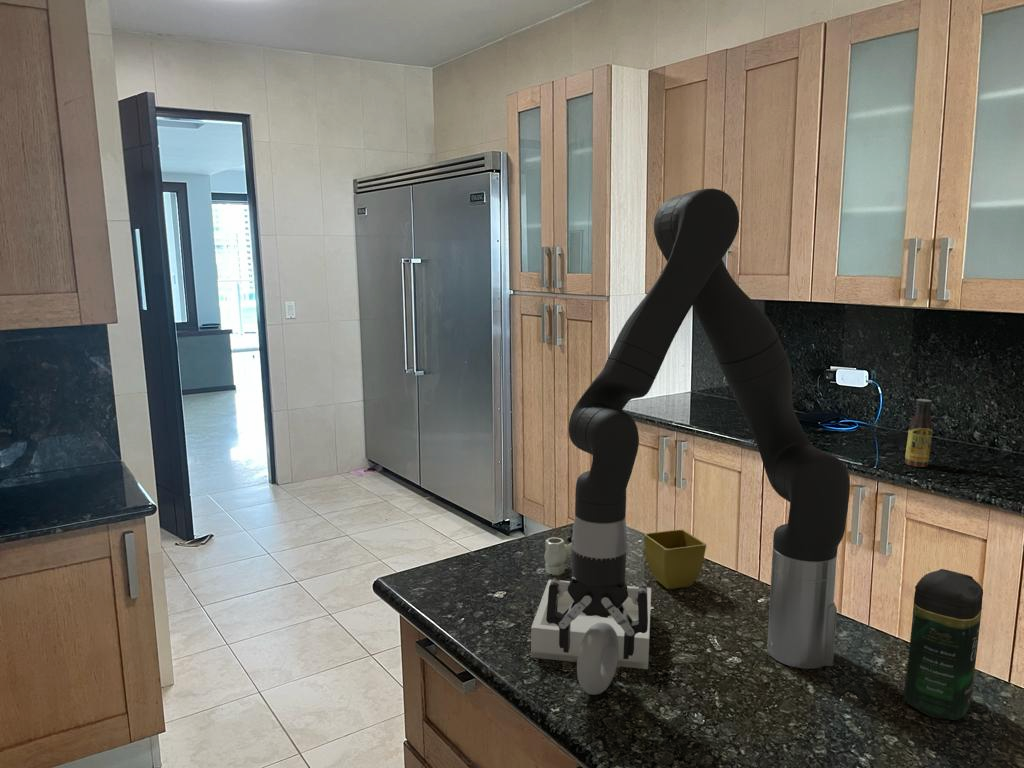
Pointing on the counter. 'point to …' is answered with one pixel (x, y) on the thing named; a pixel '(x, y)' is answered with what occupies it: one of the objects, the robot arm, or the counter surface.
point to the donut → (597, 658)
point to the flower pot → (674, 557)
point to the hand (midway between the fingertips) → (596, 653)
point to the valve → (557, 554)
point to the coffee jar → (943, 644)
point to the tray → (548, 634)
